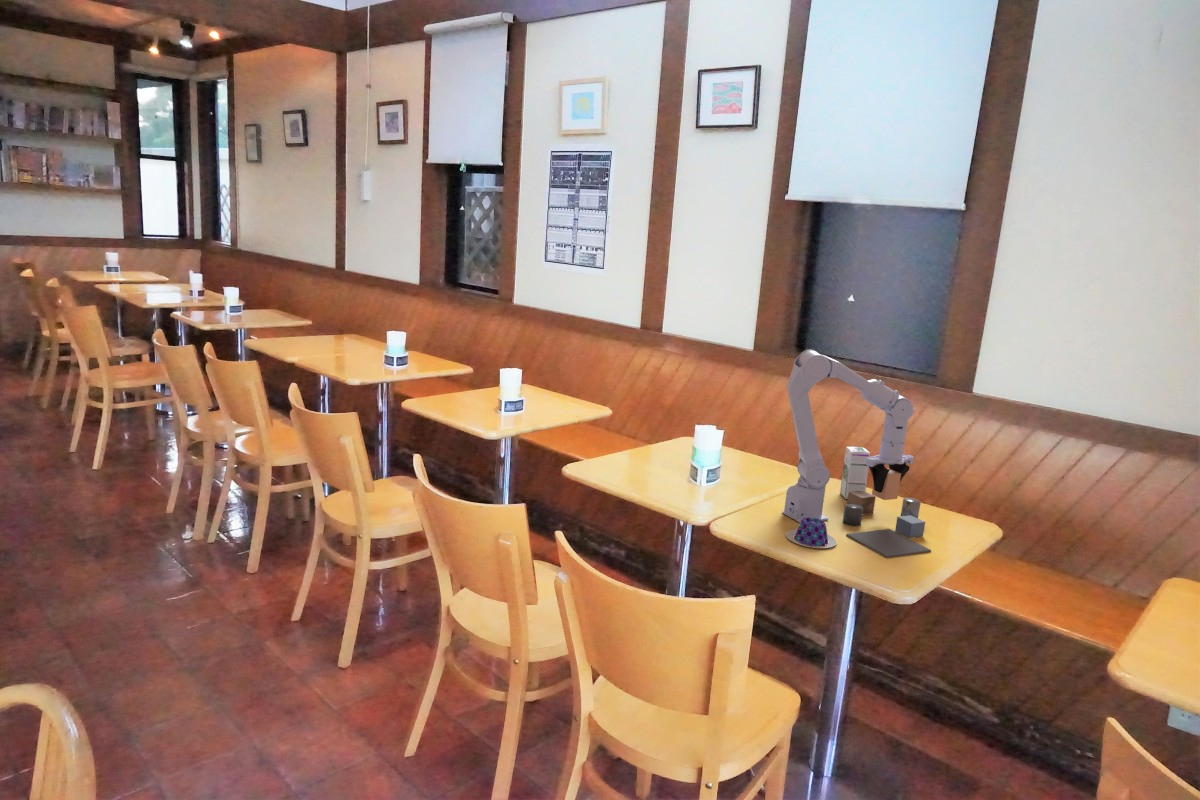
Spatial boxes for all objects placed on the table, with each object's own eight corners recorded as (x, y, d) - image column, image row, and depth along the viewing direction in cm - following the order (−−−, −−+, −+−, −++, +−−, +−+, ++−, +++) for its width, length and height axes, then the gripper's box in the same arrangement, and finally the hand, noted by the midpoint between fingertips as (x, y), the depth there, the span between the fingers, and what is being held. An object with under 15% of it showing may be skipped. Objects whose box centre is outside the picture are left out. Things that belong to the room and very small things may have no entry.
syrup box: (864, 501, 227) (872, 452, 224) (844, 499, 227) (851, 451, 224) (858, 494, 233) (865, 447, 230) (838, 493, 233) (845, 445, 230)
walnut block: (859, 515, 216) (861, 497, 215) (846, 508, 220) (848, 491, 219) (873, 513, 218) (875, 496, 217) (860, 507, 222) (862, 490, 221)
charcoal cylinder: (851, 527, 206) (853, 510, 205) (838, 520, 210) (841, 504, 209) (864, 525, 208) (867, 509, 207) (852, 519, 212) (854, 503, 211)
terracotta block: (884, 500, 207) (888, 474, 206) (871, 494, 211) (875, 469, 210) (897, 498, 209) (901, 473, 208) (884, 493, 213) (888, 468, 212)
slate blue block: (909, 538, 201) (912, 523, 200) (895, 531, 206) (897, 516, 205) (922, 536, 203) (925, 522, 202) (908, 529, 207) (910, 515, 207)
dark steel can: (908, 523, 212) (912, 503, 211) (896, 517, 216) (899, 498, 215) (921, 522, 214) (924, 502, 212) (908, 516, 218) (911, 497, 216)
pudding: (780, 530, 201) (783, 511, 200) (827, 533, 201) (830, 513, 200) (792, 549, 189) (795, 528, 188) (842, 552, 189) (845, 531, 188)
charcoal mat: (886, 558, 187) (887, 556, 187) (846, 535, 199) (846, 533, 199) (930, 551, 193) (931, 549, 193) (888, 530, 205) (888, 528, 205)
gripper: (883, 446, 201) (875, 497, 203) (925, 443, 207) (917, 493, 209) (863, 439, 207) (855, 488, 210) (905, 436, 213) (897, 485, 216)
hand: (885, 490), depth 210 cm, fingers closed on terracotta block, 4 cm apart
